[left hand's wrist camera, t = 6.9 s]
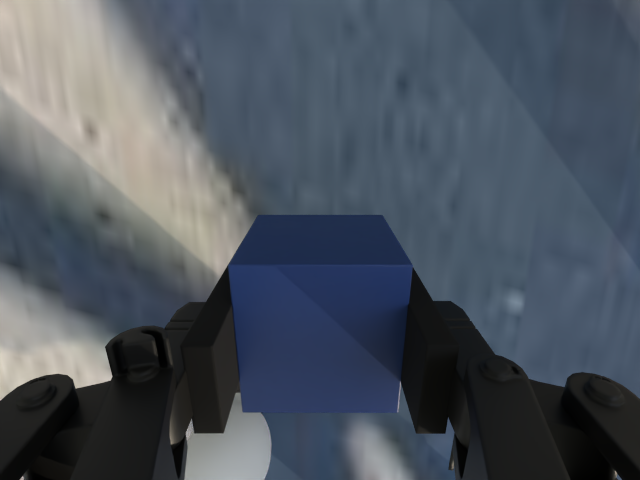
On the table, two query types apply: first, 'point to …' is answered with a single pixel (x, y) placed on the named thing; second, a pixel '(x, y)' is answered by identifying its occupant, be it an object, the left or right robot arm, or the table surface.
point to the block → (320, 314)
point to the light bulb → (231, 448)
